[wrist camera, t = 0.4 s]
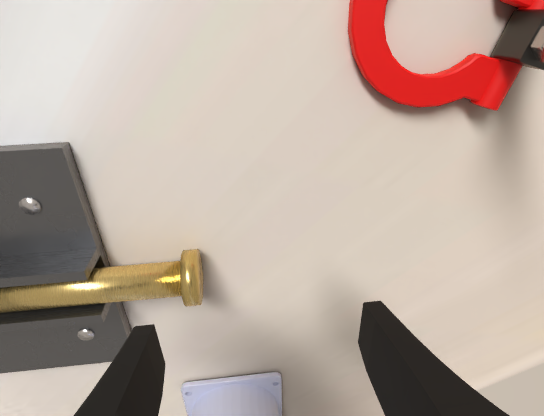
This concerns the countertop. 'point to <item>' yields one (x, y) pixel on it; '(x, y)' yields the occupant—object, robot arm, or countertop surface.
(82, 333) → the hinge
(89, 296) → the pin
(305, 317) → the countertop surface
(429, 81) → the tow hook
